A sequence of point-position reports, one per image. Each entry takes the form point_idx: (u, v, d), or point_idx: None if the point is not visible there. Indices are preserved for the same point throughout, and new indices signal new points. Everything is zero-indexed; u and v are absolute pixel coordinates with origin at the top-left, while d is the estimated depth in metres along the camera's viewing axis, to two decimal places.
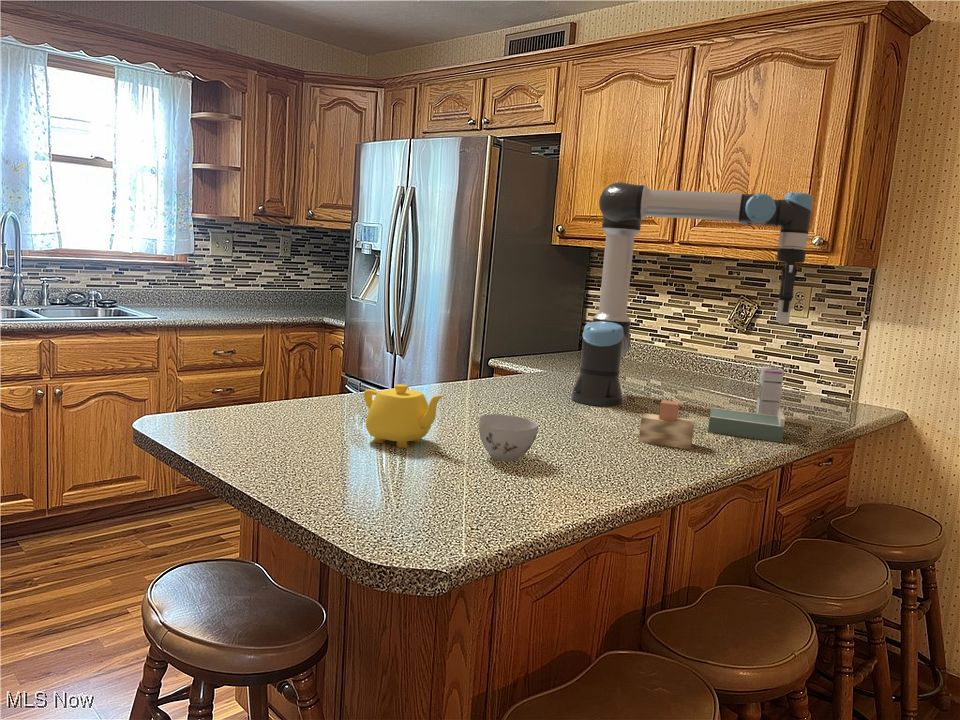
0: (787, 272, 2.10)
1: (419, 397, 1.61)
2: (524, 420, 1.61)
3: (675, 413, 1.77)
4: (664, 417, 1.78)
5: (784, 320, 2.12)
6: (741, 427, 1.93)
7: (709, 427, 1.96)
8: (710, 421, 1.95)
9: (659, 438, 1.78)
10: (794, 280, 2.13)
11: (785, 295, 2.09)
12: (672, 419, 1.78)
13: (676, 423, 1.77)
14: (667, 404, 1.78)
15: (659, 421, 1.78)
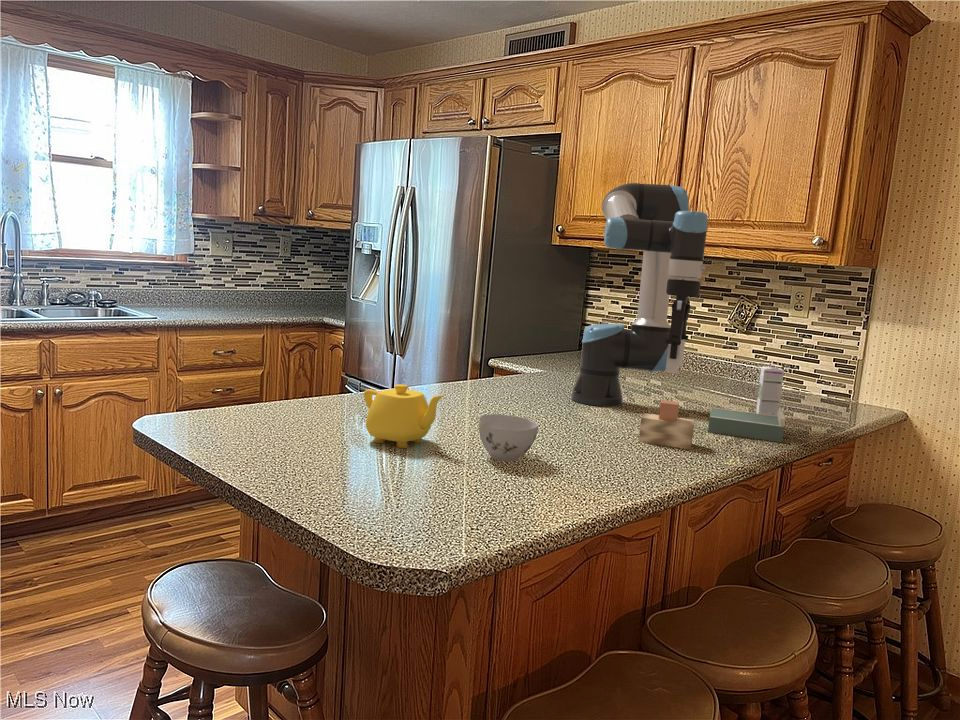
0: (675, 309, 1.70)
1: (419, 397, 1.61)
2: (524, 420, 1.61)
3: (675, 413, 1.77)
4: (664, 417, 1.78)
5: (672, 368, 1.71)
6: (741, 427, 1.93)
7: (709, 427, 1.96)
8: (710, 421, 1.95)
9: (659, 438, 1.78)
10: (685, 319, 1.72)
11: (671, 338, 1.68)
12: (672, 419, 1.78)
13: (676, 423, 1.77)
14: (667, 404, 1.78)
15: (659, 421, 1.78)
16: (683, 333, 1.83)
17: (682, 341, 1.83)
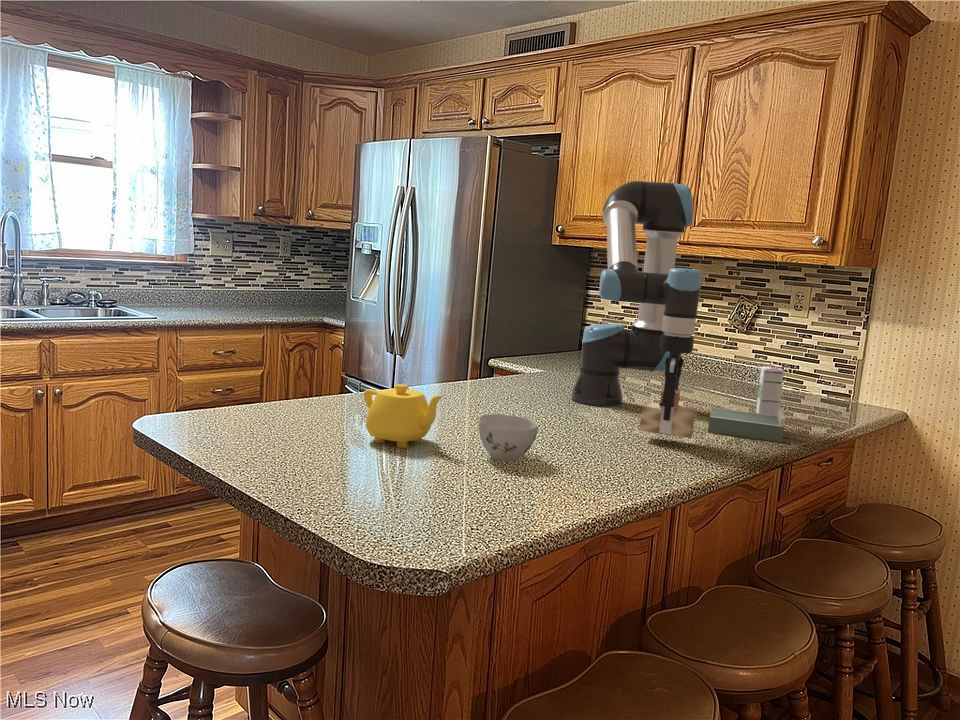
0: (667, 373, 1.73)
1: (419, 397, 1.61)
2: (524, 420, 1.61)
3: (676, 402, 1.77)
4: None
5: (666, 429, 1.77)
6: (741, 427, 1.93)
7: (709, 427, 1.96)
8: (710, 421, 1.95)
9: None
10: (678, 378, 1.76)
11: (664, 402, 1.74)
12: None
13: (677, 412, 1.77)
14: None
15: (660, 410, 1.78)
16: None
17: None
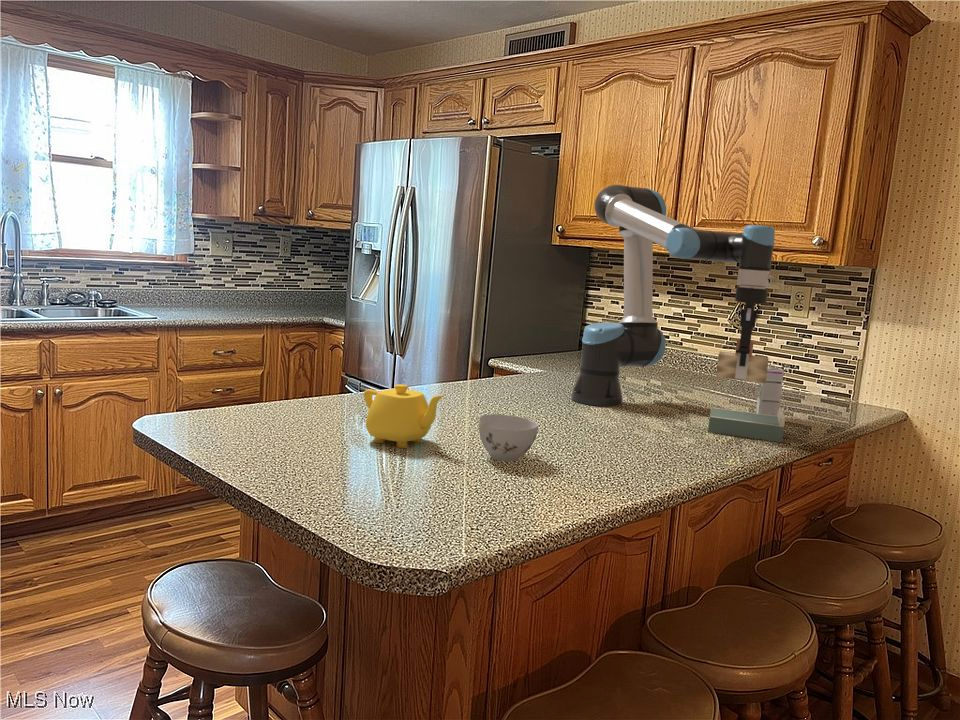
0: (744, 321, 1.87)
1: (419, 397, 1.61)
2: (524, 420, 1.61)
3: (751, 349, 1.91)
4: None
5: (741, 375, 1.91)
6: (741, 427, 1.93)
7: (709, 427, 1.96)
8: (710, 421, 1.95)
9: None
10: (753, 327, 1.90)
11: (741, 348, 1.88)
12: None
13: (752, 358, 1.90)
14: None
15: (736, 357, 1.92)
16: None
17: None
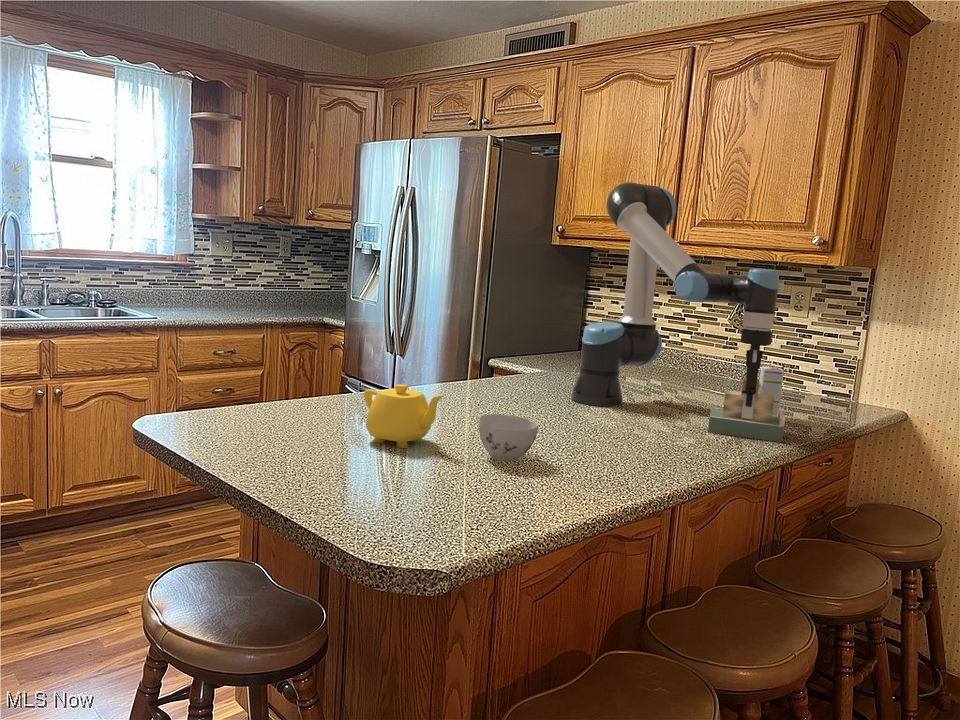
0: (750, 362, 1.91)
1: (419, 397, 1.61)
2: (524, 420, 1.61)
3: (756, 389, 1.95)
4: None
5: (747, 415, 1.95)
6: (741, 427, 1.93)
7: (709, 427, 1.96)
8: (710, 421, 1.95)
9: None
10: None
11: (748, 389, 1.92)
12: None
13: (758, 398, 1.95)
14: None
15: (742, 396, 1.96)
16: None
17: None
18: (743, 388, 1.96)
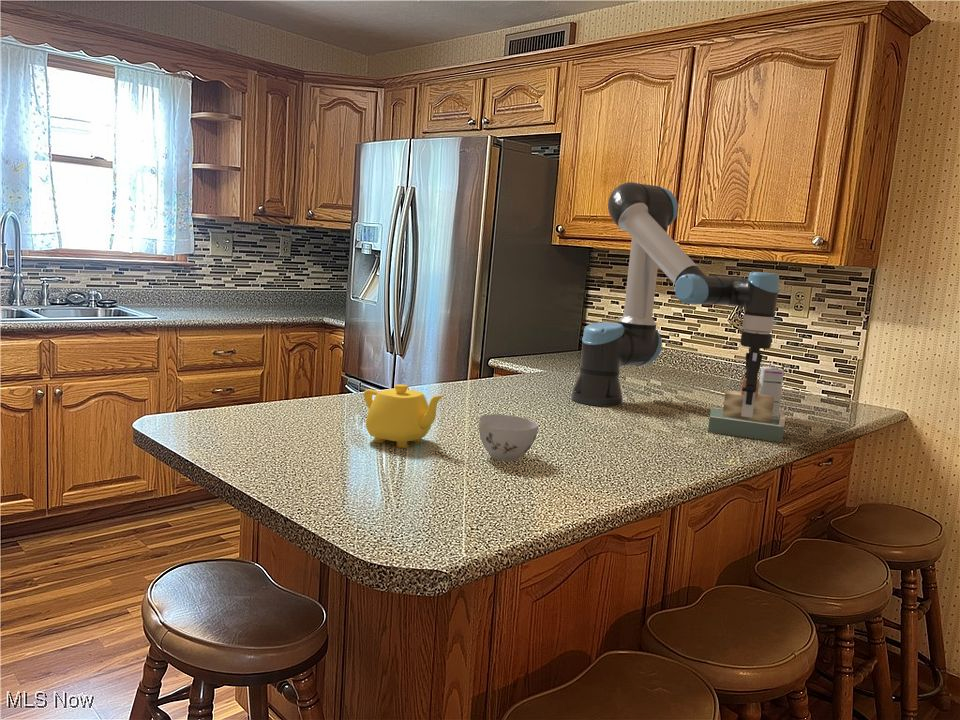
0: (750, 361, 1.90)
1: (419, 397, 1.61)
2: (524, 420, 1.61)
3: None
4: None
5: (747, 413, 1.92)
6: (741, 427, 1.93)
7: (709, 427, 1.96)
8: (710, 421, 1.95)
9: None
10: (759, 368, 1.93)
11: (748, 387, 1.89)
12: None
13: (758, 398, 1.95)
14: None
15: (742, 396, 1.96)
16: None
17: None
18: None
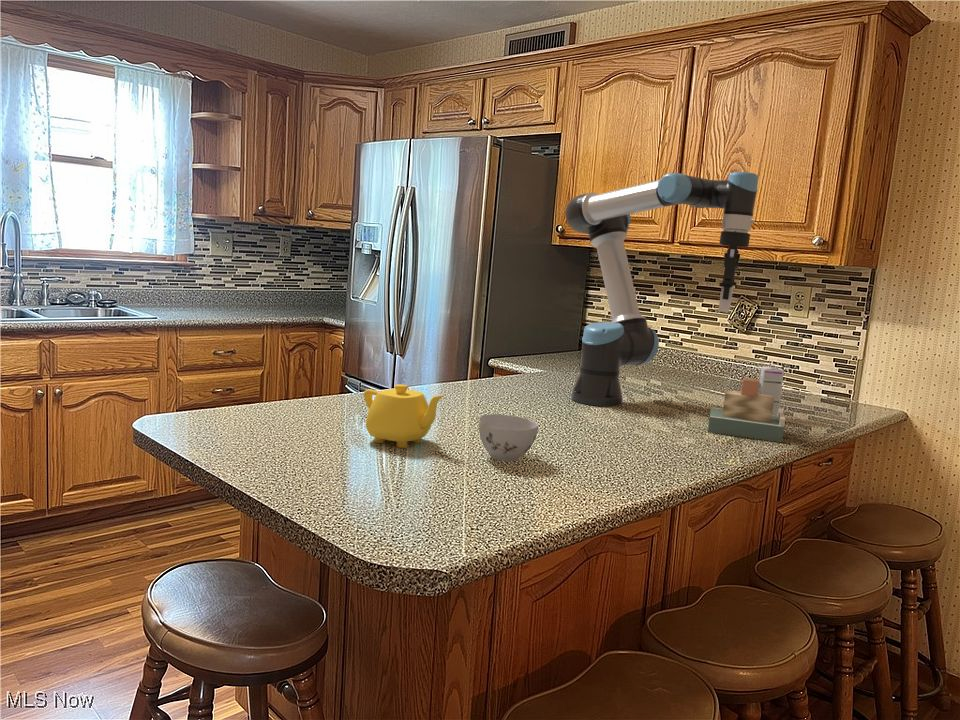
0: (728, 257, 1.97)
1: (419, 397, 1.61)
2: (524, 420, 1.61)
3: (756, 389, 1.95)
4: (746, 393, 1.96)
5: (724, 308, 1.99)
6: (741, 427, 1.93)
7: (709, 427, 1.96)
8: (710, 421, 1.95)
9: (742, 411, 1.96)
10: (736, 265, 2.00)
11: (725, 281, 1.96)
12: (754, 395, 1.96)
13: (758, 398, 1.95)
14: (749, 381, 1.96)
15: (742, 396, 1.96)
16: None
17: (731, 287, 2.11)
18: (743, 388, 1.96)
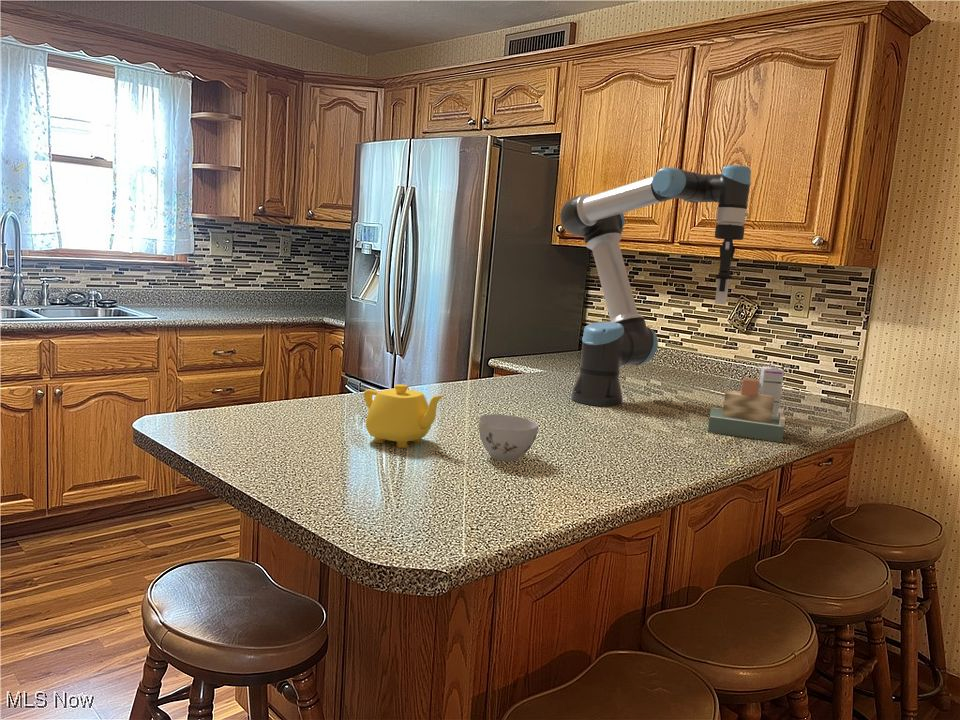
0: (723, 249, 1.99)
1: (419, 397, 1.61)
2: (524, 420, 1.61)
3: (756, 389, 1.95)
4: (746, 393, 1.96)
5: (721, 300, 2.00)
6: (741, 427, 1.93)
7: (709, 427, 1.96)
8: (710, 421, 1.95)
9: (742, 411, 1.96)
10: (732, 258, 2.01)
11: (721, 273, 1.97)
12: (754, 395, 1.96)
13: (758, 398, 1.95)
14: (749, 381, 1.96)
15: (742, 396, 1.96)
16: None
17: None
18: (743, 388, 1.96)
